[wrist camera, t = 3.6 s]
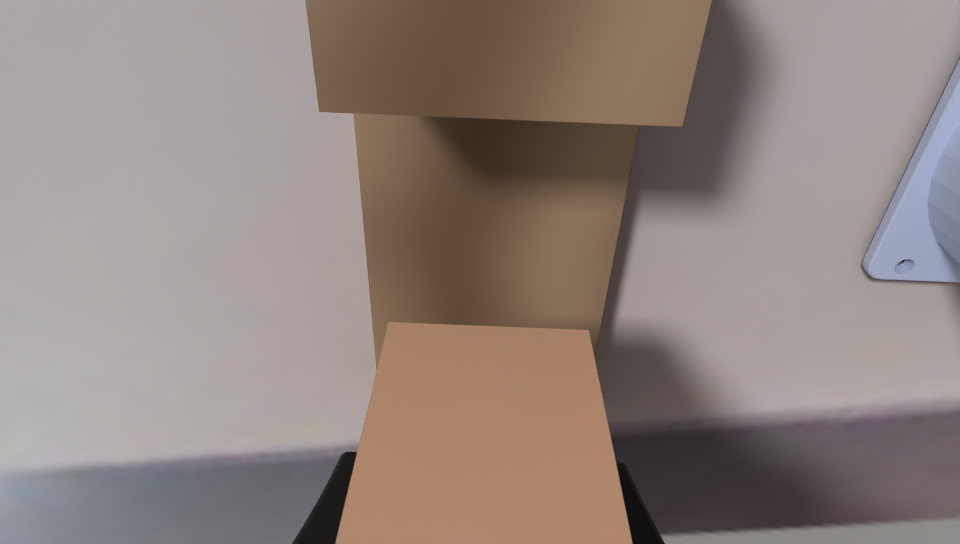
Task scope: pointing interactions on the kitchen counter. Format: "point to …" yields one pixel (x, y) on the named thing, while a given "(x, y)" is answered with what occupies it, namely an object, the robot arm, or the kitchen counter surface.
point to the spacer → (485, 442)
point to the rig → (499, 145)
